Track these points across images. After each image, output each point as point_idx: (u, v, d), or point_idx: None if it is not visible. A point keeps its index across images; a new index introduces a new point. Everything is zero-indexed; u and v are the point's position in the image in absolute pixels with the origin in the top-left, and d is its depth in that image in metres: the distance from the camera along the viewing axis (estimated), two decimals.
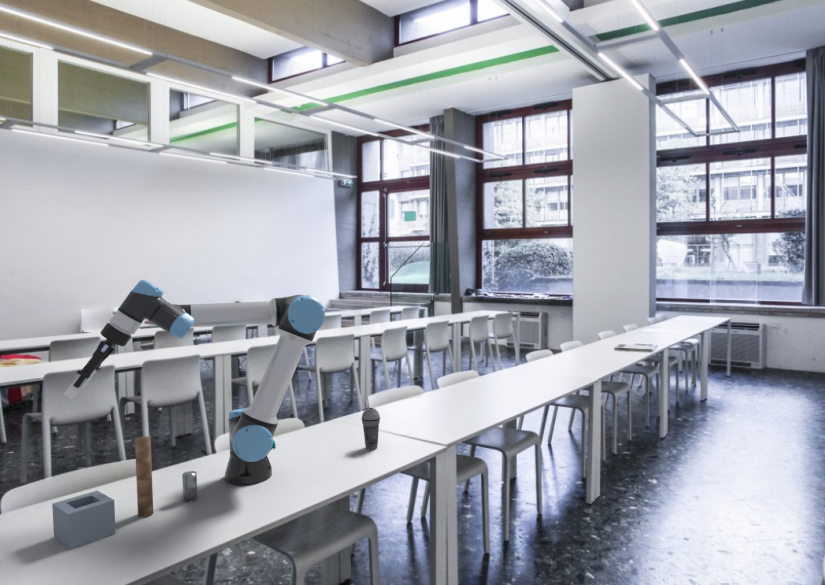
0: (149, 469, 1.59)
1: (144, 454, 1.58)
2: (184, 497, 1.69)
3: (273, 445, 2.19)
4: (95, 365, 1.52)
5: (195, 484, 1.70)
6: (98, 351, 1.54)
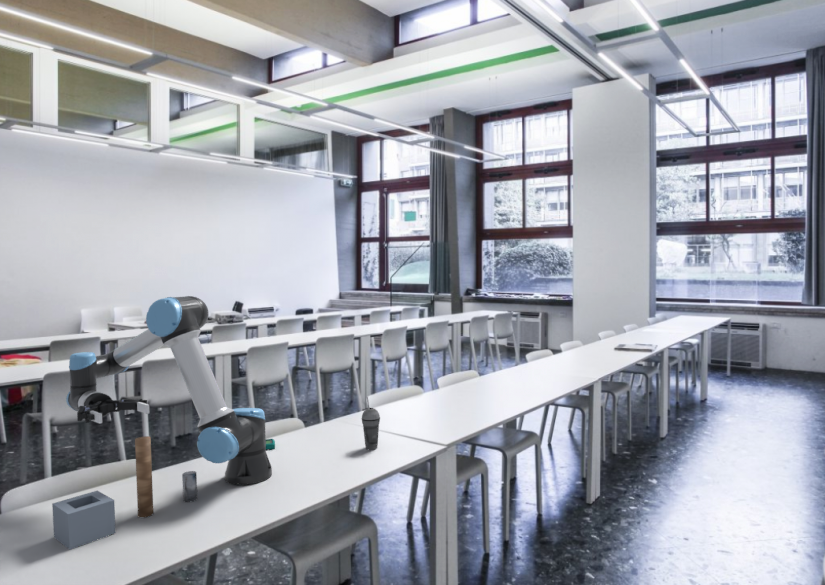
0: (149, 469, 1.59)
1: (144, 454, 1.58)
2: (184, 497, 1.69)
3: (272, 446, 2.19)
4: None
5: (195, 484, 1.70)
6: None
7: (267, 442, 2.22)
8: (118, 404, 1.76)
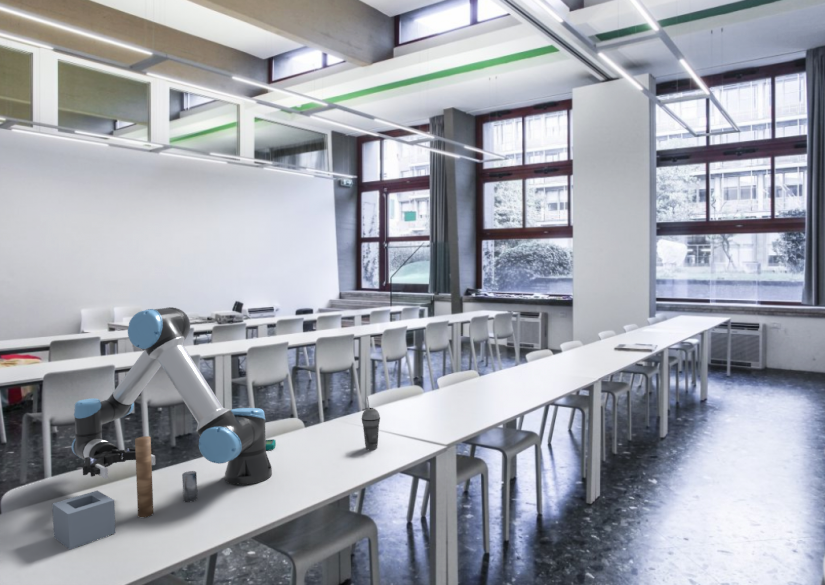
0: (149, 469, 1.59)
1: (144, 454, 1.58)
2: (184, 497, 1.69)
3: (271, 447, 2.17)
4: (84, 464, 1.65)
5: (195, 484, 1.70)
6: None
7: (267, 443, 2.21)
8: (124, 454, 1.74)
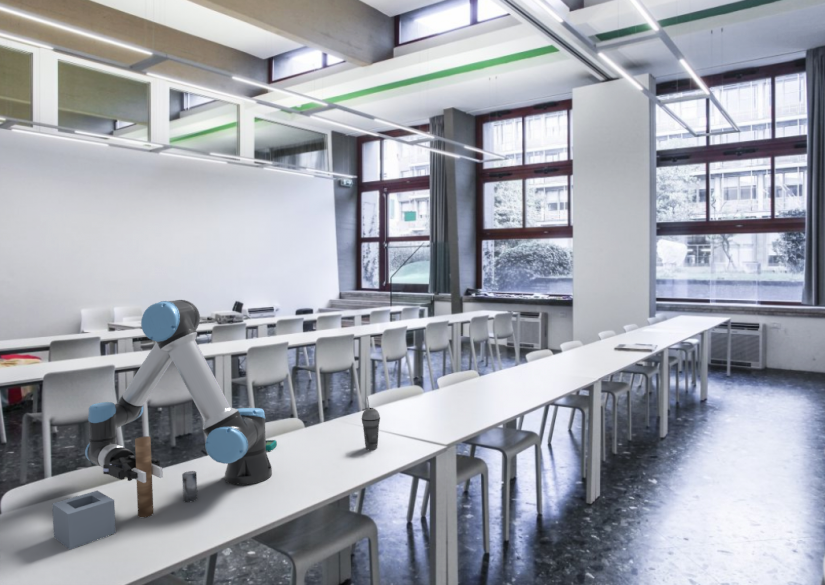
0: (149, 469, 1.59)
1: (144, 454, 1.58)
2: (184, 497, 1.69)
3: (268, 448, 2.16)
4: (114, 470, 1.59)
5: (195, 484, 1.70)
6: (108, 473, 1.61)
7: (267, 443, 2.21)
8: None
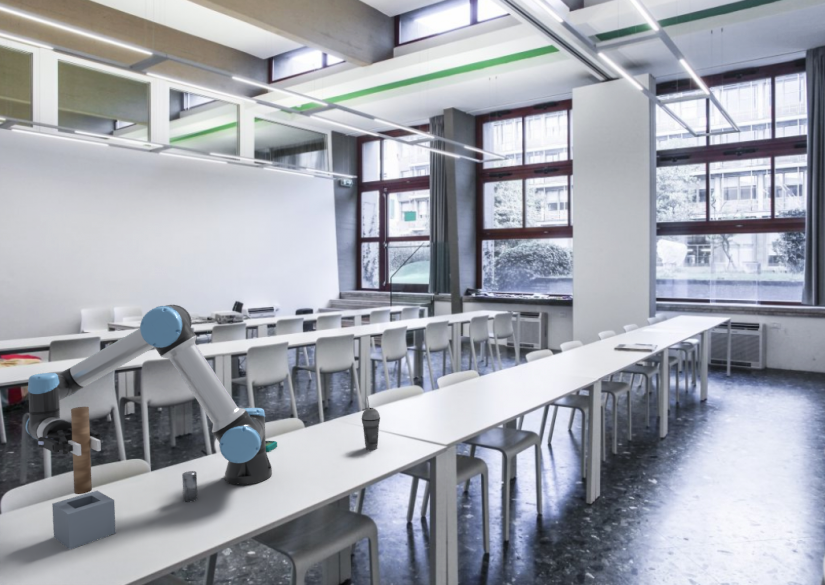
0: (86, 442, 1.47)
1: (81, 426, 1.46)
2: (184, 497, 1.69)
3: (266, 449, 2.15)
4: (49, 442, 1.47)
5: (195, 484, 1.70)
6: (44, 446, 1.49)
7: (267, 444, 2.20)
8: None
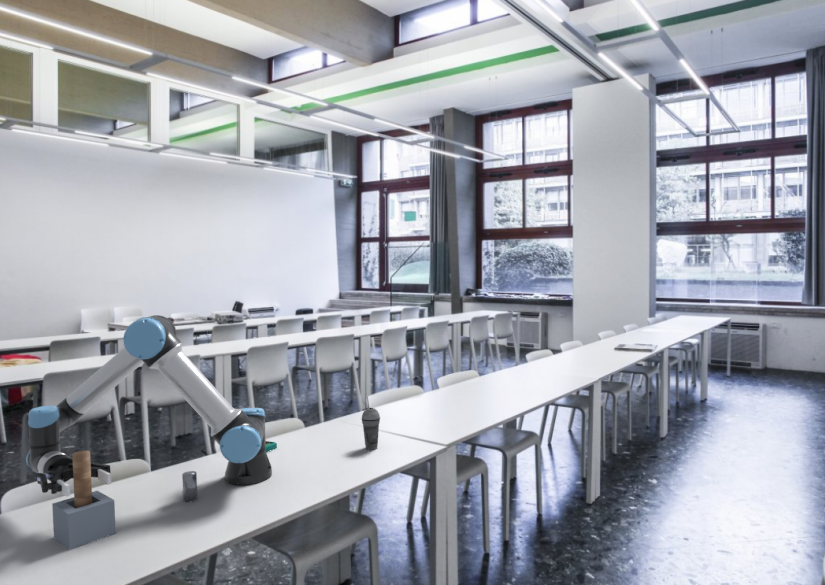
0: (88, 486, 1.47)
1: (82, 470, 1.46)
2: (184, 497, 1.69)
3: None
4: (41, 481, 1.46)
5: (195, 484, 1.70)
6: (40, 483, 1.49)
7: (266, 444, 2.19)
8: None
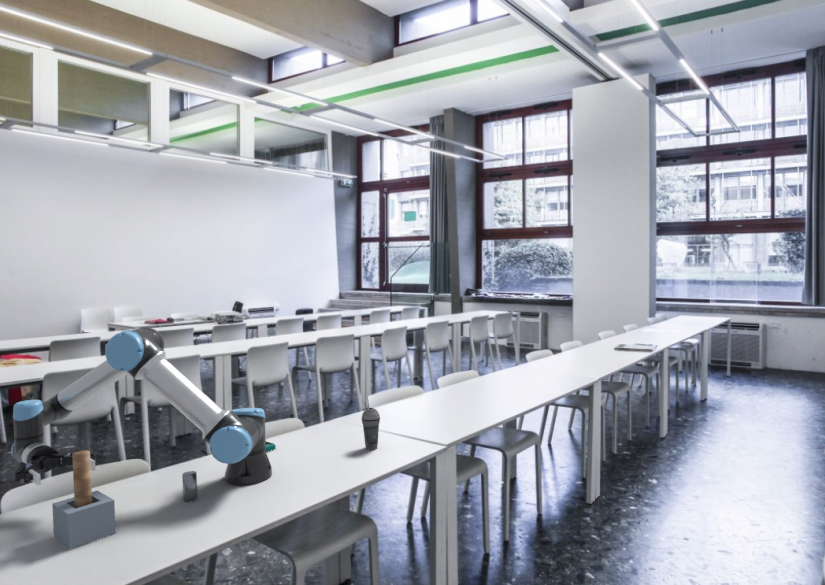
0: (88, 486, 1.47)
1: (82, 470, 1.46)
2: (184, 497, 1.69)
3: None
4: None
5: (195, 484, 1.70)
6: None
7: None
8: (63, 459, 1.64)
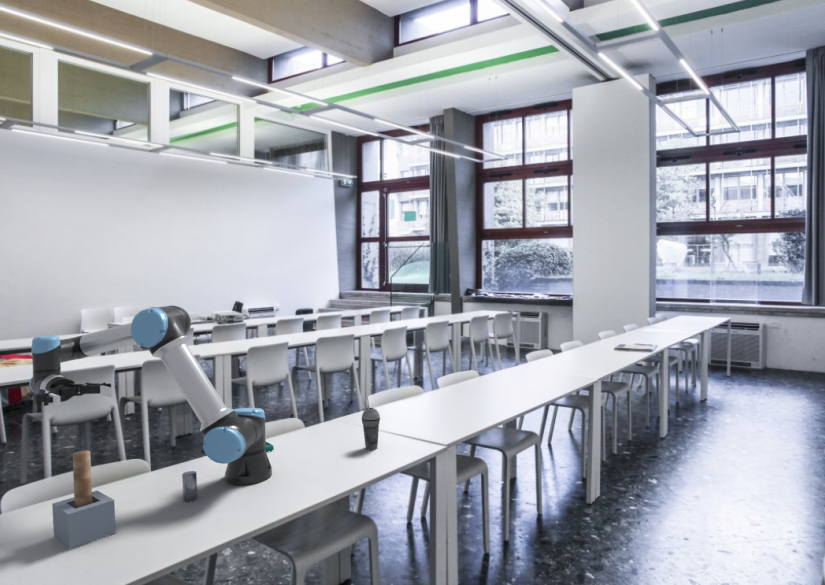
0: (88, 486, 1.47)
1: (83, 470, 1.46)
2: (184, 497, 1.69)
3: None
4: None
5: (195, 484, 1.70)
6: None
7: None
8: (81, 388, 1.71)
